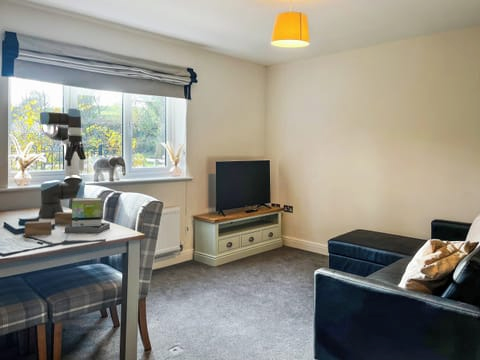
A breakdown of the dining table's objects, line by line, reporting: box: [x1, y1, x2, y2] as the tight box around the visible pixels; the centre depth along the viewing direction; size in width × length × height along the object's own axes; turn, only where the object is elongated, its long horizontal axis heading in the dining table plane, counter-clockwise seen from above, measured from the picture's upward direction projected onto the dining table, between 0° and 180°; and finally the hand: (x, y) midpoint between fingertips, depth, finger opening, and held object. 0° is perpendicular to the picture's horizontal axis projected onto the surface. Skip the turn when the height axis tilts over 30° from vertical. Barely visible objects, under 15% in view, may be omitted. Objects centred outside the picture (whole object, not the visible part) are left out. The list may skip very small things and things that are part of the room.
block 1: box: [23, 220, 52, 238], centre depth 203 cm, size 4×12×7 cm, turn 110°
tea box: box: [71, 197, 102, 227], centre depth 215 cm, size 15×10×15 cm, turn 109°
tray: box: [64, 222, 111, 235], centre depth 215 cm, size 14×19×3 cm
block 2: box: [54, 211, 72, 226], centre depth 231 cm, size 4×12×7 cm, turn 85°
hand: (75, 171), depth 231 cm, fingers open, 13 cm apart
